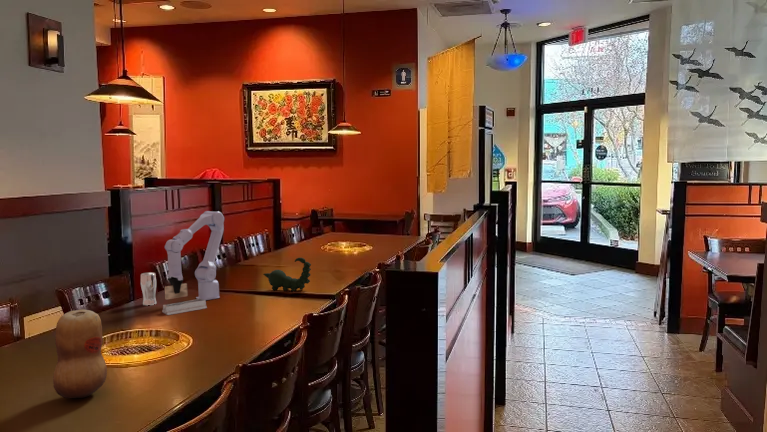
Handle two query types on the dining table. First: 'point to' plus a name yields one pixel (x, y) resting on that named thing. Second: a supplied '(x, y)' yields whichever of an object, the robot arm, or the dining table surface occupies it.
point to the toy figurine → (289, 278)
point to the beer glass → (148, 288)
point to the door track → (184, 306)
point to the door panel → (170, 293)
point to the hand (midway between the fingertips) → (176, 292)
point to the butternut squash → (79, 354)
